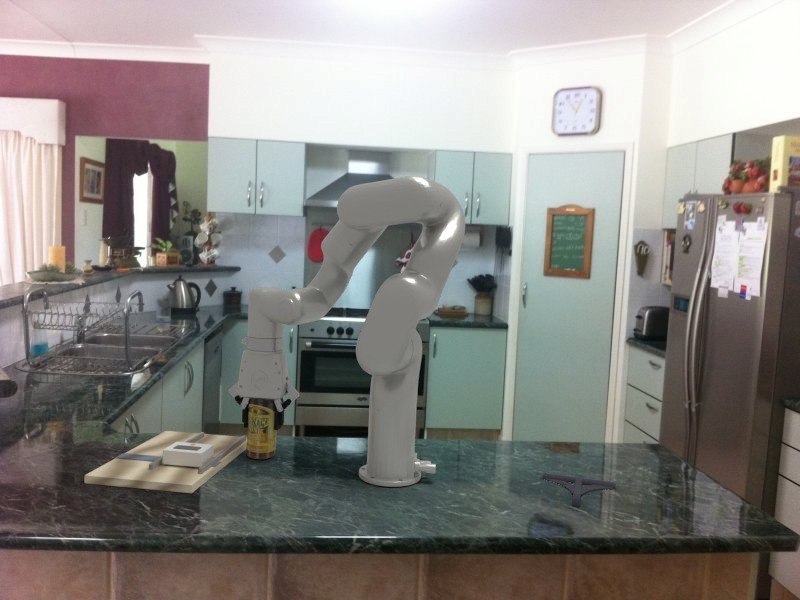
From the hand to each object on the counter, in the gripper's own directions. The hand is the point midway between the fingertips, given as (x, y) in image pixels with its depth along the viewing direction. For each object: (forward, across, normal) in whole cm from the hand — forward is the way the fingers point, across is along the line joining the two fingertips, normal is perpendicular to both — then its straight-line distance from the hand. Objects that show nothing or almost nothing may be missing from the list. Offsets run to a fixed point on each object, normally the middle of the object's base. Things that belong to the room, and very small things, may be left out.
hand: (262, 426), depth 145 cm
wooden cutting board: (+7, -16, -8) cm, 19 cm away
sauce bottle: (+7, 0, 0) cm, 7 cm away
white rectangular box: (+5, -11, -12) cm, 17 cm away
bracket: (+8, +66, -6) cm, 67 cm away
